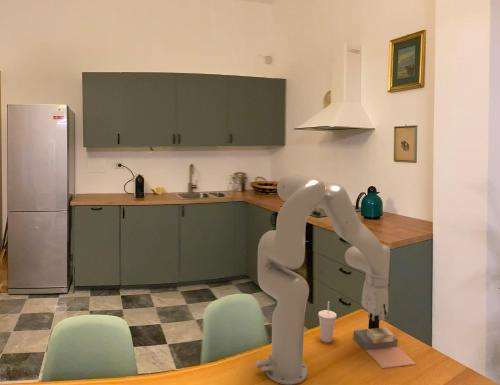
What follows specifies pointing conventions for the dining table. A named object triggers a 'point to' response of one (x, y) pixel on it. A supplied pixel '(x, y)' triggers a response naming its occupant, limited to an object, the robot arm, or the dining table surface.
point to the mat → (390, 357)
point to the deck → (367, 344)
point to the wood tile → (379, 335)
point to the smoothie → (327, 324)
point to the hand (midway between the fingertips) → (373, 329)
